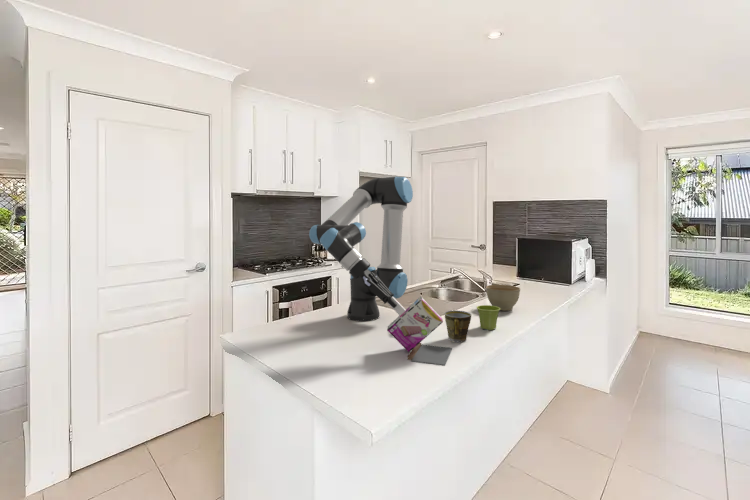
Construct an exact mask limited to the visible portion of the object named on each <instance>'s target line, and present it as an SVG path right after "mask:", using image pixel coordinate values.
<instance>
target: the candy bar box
mask: <svg viewBox="0 0 750 500" xmlns="http://www.w3.org/2000/svg"><path fill="white" fill-rule="evenodd" d="M405 309H406V311H405V312H404V313H403V314H402V315H401V316H399V315H398V316H397V317H396V318H394V320H393V321H392V322H390V323H389V324H388V326H387V332H388V333H389V334H390V335H391V336H392V337H393V338H394V339H395V341H397V342H398V343H399V344H400V345H401V346H402V347H403V349H405V350H406V351H407V353H410V352H411V351H412V349H413V348H415V347H416V346H417V345H418V344H419V343H422V342H423V341H424V340H425V339H426V338H427V337H428V336H429V335H431V334H432V332H434V331H435V330H436V329H437V328H438V327H439V326H440V325H442V324H443V322H444V320H443V317H441V315H439V313H438V312H437V311H436V310H435V309H434V308H433V307H432V306H431V305H430V304H429V303H428V302H427V301H426V299H424V298H423V296H421V295H420V296H419V297H418V298H417V299H416V300H414V301H413V303H411V305H409V306H408V307H407V308H405Z"/></svg>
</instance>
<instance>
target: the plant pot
mask: <svg viewBox="0 0 750 500" xmlns="http://www.w3.org/2000/svg"><path fill="white" fill-rule="evenodd" d="M476 309H477V312H478V319H479V325H480V326H479V327H480V328H481V329H483V330H488V331H493V330H495V329H496V328H497V322H498V316H499V313H500V311H501V310H500V308H499V307H497V306H492V305H491V304H490V305H485V304H484V305H483V304H482V305H478V306H476Z"/></svg>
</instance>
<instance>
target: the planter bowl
mask: <svg viewBox="0 0 750 500" xmlns="http://www.w3.org/2000/svg"><path fill="white" fill-rule="evenodd" d="M485 288H486V297H487V299H488V301H489V304H490V306H497V307H499V308H500V310H499V311H501V312H502V311H503V312H504V311H505V312H507V311H513V309H514V307H515V306H516V304H517V302H518V301H519V298H520V294H521V288H520V287H518V286H514V285H508V284H490V285H489V284H488V285H487V286H486V287H485Z"/></svg>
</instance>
